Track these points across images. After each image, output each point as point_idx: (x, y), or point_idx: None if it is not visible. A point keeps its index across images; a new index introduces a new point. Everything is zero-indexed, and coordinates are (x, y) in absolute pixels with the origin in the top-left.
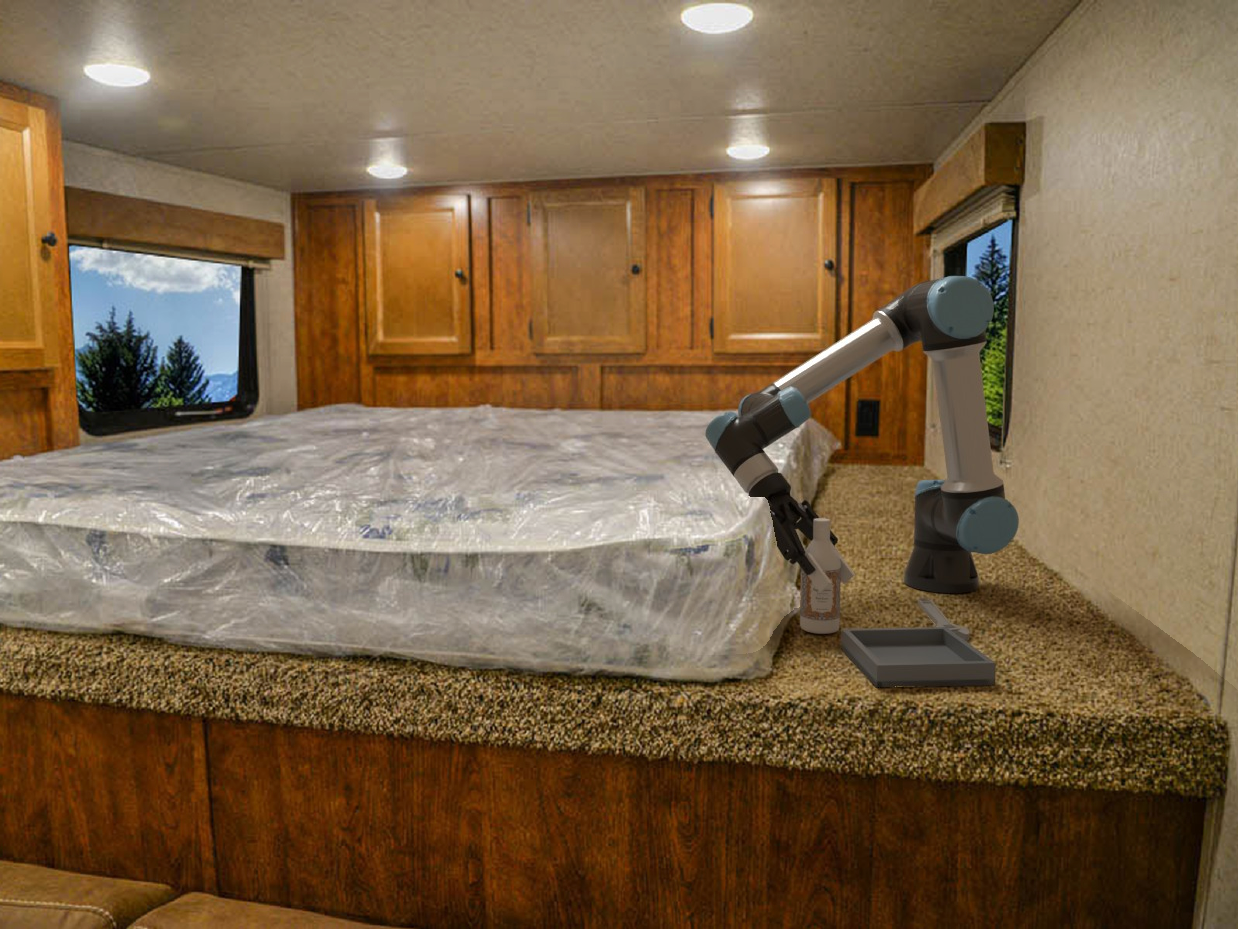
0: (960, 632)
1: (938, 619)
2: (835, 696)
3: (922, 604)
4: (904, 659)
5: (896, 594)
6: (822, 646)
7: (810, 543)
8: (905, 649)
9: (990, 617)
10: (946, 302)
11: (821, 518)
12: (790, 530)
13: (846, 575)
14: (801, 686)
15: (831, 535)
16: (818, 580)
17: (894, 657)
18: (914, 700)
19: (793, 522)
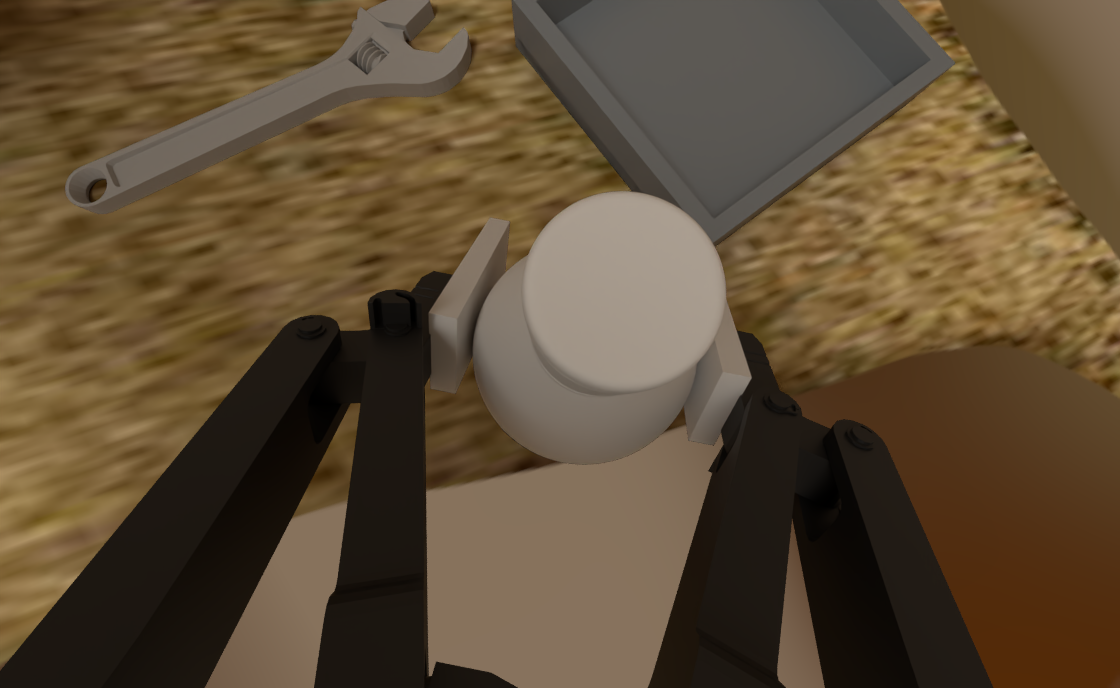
0: (414, 17)
1: (307, 96)
2: (1012, 163)
3: (153, 176)
4: (725, 82)
5: (3, 308)
6: None
7: (641, 404)
8: (644, 101)
9: (162, 5)
10: None
11: (568, 312)
12: (781, 587)
13: (502, 258)
14: (1007, 249)
15: (311, 354)
16: None
17: (725, 107)
18: (921, 20)
19: (702, 634)
